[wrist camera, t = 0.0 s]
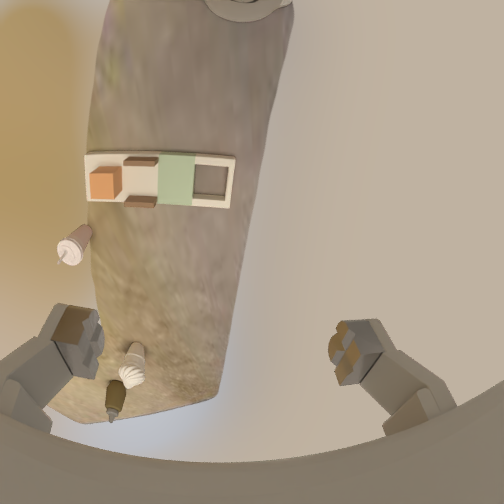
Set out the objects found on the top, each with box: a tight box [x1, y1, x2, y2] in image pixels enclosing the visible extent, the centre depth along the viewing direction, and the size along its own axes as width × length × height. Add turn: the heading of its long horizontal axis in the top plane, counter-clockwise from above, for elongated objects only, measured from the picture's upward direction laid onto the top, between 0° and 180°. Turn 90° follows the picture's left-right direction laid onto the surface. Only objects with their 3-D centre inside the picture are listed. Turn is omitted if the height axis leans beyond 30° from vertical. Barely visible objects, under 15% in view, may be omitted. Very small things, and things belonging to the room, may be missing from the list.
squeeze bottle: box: [105, 380, 126, 423], centre depth 82 cm, size 8×8×18 cm
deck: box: [85, 151, 236, 208], centre depth 49 cm, size 10×30×6 cm, turn 82°
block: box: [89, 166, 122, 199], centre depth 46 cm, size 5×5×5 cm
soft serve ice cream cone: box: [119, 342, 145, 389], centre depth 71 cm, size 8×8×16 cm
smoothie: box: [57, 224, 92, 265], centre depth 50 cm, size 6×6×14 cm
